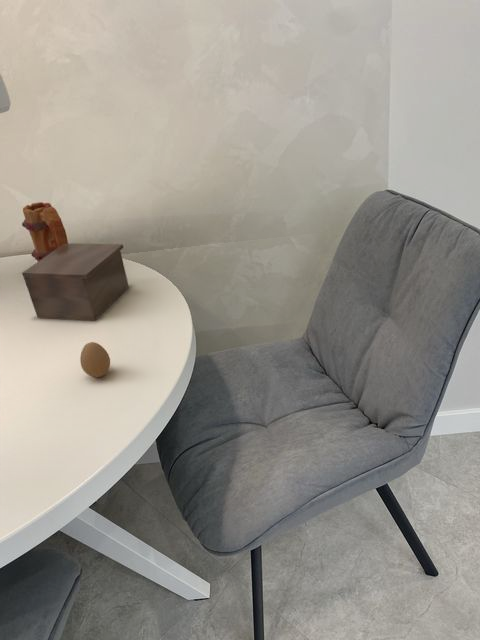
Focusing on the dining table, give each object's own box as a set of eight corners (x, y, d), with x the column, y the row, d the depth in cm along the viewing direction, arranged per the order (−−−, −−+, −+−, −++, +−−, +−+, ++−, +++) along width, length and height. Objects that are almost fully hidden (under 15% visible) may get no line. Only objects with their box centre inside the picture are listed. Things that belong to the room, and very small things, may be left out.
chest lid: (123, 247, 110) (122, 244, 110) (86, 278, 98) (85, 274, 98) (65, 246, 114) (64, 243, 113) (23, 276, 102) (21, 272, 101)
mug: (31, 265, 131) (10, 203, 123) (63, 254, 135) (44, 194, 127) (56, 281, 121) (35, 215, 113) (89, 269, 125) (71, 205, 117)
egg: (85, 371, 89) (75, 339, 86) (113, 364, 90) (104, 333, 86) (85, 386, 85) (75, 353, 82) (114, 379, 86) (105, 347, 83)
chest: (129, 287, 115) (119, 247, 110) (94, 321, 103) (82, 278, 99) (76, 285, 118) (65, 247, 114) (37, 318, 107) (23, 276, 102)
